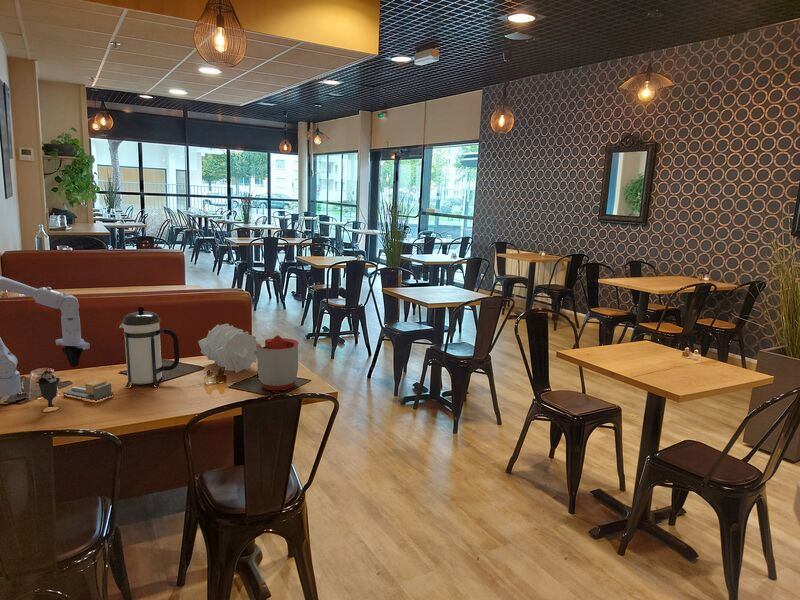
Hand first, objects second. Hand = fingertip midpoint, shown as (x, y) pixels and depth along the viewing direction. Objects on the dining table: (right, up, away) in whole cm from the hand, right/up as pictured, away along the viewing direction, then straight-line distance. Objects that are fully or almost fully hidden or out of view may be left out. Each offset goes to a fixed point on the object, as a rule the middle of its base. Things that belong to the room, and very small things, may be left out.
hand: (74, 366), depth 201 cm
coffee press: (+21, -8, +12) cm, 26 cm away
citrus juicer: (+70, -9, +12) cm, 71 cm away
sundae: (+1, -13, -16) cm, 20 cm away
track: (+7, -10, -3) cm, 13 cm away
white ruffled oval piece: (+46, -5, +35) cm, 57 cm away
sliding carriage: (+11, -9, -5) cm, 15 cm away
